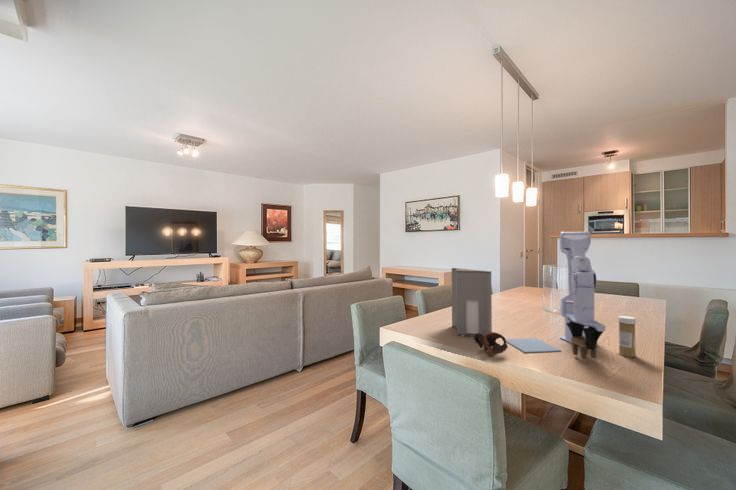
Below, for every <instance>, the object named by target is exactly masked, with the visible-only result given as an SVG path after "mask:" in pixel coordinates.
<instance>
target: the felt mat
mask: <svg viewBox="0 0 736 490" xmlns="http://www.w3.org/2000/svg"><path fill="white" fill-rule="evenodd" d="M505 339H506V344H507V343H508V344H509V345H511V347H514V348H516V349H518V350H519V351H520V352H522V353H524V354H533V353H534V354H535V353H553V352H554V353H555V352H556V353H557V352H562V350H561V349H560V348H557V347H555V346H553V345H551V344H549V343H548V342H545V341H543V340H541V339H539V338H537V337H532V338H531V337H527V338H505Z"/></svg>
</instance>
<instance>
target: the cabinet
mask: <svg viewBox="0 0 736 490" xmlns="http://www.w3.org/2000/svg"><path fill="white" fill-rule="evenodd" d="M492 303H493V302H492V270H491V271H490V270H479V269H468V268H459V267H451V327H452V328H454V329H456V334H457V335H456V336H457V337H458V336H459V337H461V336H462V337H474V335H475V334H477V333H479V334H482V335H484V336H485V335H486V334H487V333H489V332H493V330H492V329H493V326H492V325H493V323H492V318H493V317H492V316H493V315H492V314H493V312H492V311H493V310H492V309H493V307H492V305H493V304H492Z"/></svg>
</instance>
